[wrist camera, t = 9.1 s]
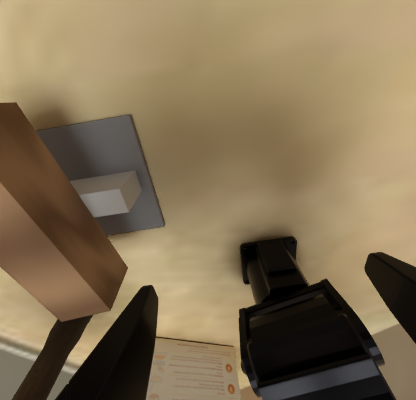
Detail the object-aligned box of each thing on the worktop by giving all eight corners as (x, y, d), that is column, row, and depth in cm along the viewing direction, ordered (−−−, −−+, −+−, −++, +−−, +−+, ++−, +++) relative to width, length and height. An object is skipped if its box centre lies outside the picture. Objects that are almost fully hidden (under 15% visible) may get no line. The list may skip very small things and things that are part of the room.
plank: (127, 267, 18) (110, 310, 14) (88, 277, 18) (61, 321, 15) (16, 102, 11) (-67, 105, 8) (-43, 123, 12) (-147, 134, 8)
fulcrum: (165, 223, 21) (157, 253, 17) (58, 240, 21) (26, 273, 17) (130, 114, 16) (108, 120, 12) (-10, 138, 16) (-77, 152, 12)
